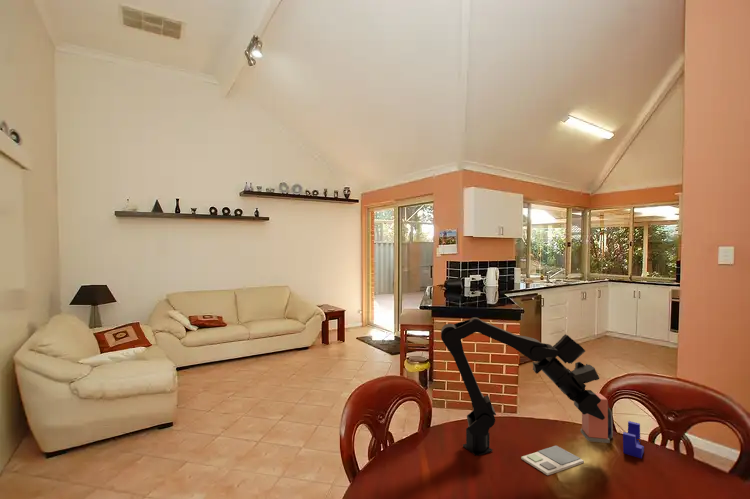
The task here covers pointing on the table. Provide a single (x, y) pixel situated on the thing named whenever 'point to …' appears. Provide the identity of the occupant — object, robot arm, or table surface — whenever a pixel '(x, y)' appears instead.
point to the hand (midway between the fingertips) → (599, 414)
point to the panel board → (552, 460)
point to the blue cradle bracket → (632, 440)
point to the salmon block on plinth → (596, 423)
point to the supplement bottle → (610, 424)
